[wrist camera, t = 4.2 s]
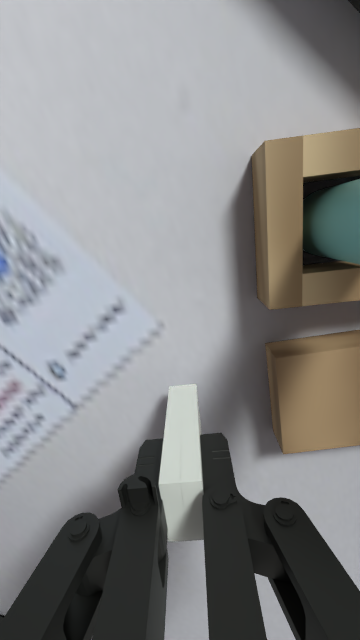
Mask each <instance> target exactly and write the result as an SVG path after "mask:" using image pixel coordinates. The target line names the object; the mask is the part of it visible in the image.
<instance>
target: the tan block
mask: <svg viewBox="0 0 360 640" xmlns="http://www.w3.org/2000/svg"><path fill="white" fill-rule="evenodd" d="M265 346H266V357H267V368H268V380H269V391H270V402H271V413H272V424H273V431H274V434H275V436H276V438H277V441H278V443H279V446H280V448H281V450H282V453H283V454H289V453H298V452H306V451H315V450H323V449H331V448H340V447H348V446H357V445H360V330H353V331H346V332H340V333H333V334H326V335H319V336H312V337H305V338H299V339H292V340H285V341H278V342H271V343H265Z"/></svg>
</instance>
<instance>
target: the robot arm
mask: <svg viewBox="0 0 360 640" xmlns="http://www.w3.org/2000/svg"><path fill="white" fill-rule="evenodd" d="M118 493H119V498H120V502H121V506H122V508H121V509H120V510H118V511H117V512H115V513H113V514H111V515H108V516H106V517H103V518H101V519H98V518H97V517H96V515H94V514H92V513H81V514H78V515H76V516H74V517H73V518H71V519H70V520H68V521H67V523H66V524H65V525H64V526H63V527H62V529H61V530H60V532H59V533H58V535H57V536H56V538H55V540H54V541H53V543H52V544H51V546H50V547H49V549H48V550H47V552H46V553H45V555H44V557H43V558H42V560H41V561H40V563H39V564H38V566H37V567H36V569H35V571H34V572H33V574H32V575H31V577H30V578H29V580H28V581H27V583H26V584H25V586H24V588H23V589H22V591H21V592H20V594H19V595H18V597H17V598H16V600H15V601H14V603H13V605H12V606H11V608H10V609H9V611H8V612H7V614H6V615H5V617H4V618H3V617H1V616H0V640H91V638H92V640H164V632H165V613H166V594H167V575H168V552H167V535H168V540H169V542H175V541H191V540H204V550H205V569H206V588H207V607H208V626H209V640H267V638H266V633H265V627H264V622H263V617H262V612H261V606H260V601H259V596H258V591H257V586H256V580H255V575H254V573H256V574H259V575H262V576H266V577H268V579H269V582H270V584H271V586H272V588H273V590H274V593H275V595H276V597H277V599H278V601H279V604H280V606H281V608H282V610H283V612H284V615H285V617H286V619H287V621H288V623H289V626H290V628H291V630H292V632H293V635H294V637H295V639H296V640H360V591H359V589H358V588H357V587H356V585H355V584H354V582H353V581H352V579H351V578H350V576H349V575H348V574H347V572H346V571H345V569H344V568H343V566H342V565H341V563H340V562H339V561H338V559H337V558H336V556H335V555H334V553H333V552H332V551H331V549H330V548H329V546H328V545H327V543H326V542H325V540H324V539H323V538H322V536H321V535H320V533H319V532H318V530H317V529H316V528H315V526H314V525H313V523H312V522H311V520H310V519H309V517H308V516H307V515H306V513H305V512H304V510H303V509H302V508H301V507H300V506H299V505H298V504H297V503H295V502H294V501H292V500H290V499H286V498H274V499H272V500H270V501H268V502H267V504H266V505H261V504H256V503H253V502H250V501H248V500H247V499H245V498H244V497H243V496H242V495H241V494H240V493H239V491H238V490H237V487H236V483H235V478H234V473H233V467H232V462H231V457H230V452H229V446H228V441H227V439H226V438H225V437H224V436H223V434H222V433H214V434H203V435H202V433H201V422H200V413H199V405H198V396H197V387H196V384H190V385H180V386H169V394H168V403H167V412H166V421H165V430H164V439H153V440H146V441H145V442H144V443H143V445H142V446H141V447H140V450H139V455H138V459H137V464H136V469H135V474H134V475H131V476H130V477H128V478H126V479H125V480H124V481H123V482H122V483H121V484H120V486H119V488H118ZM92 635H93V637H92Z"/></svg>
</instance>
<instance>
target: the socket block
mask: <svg viewBox="0 0 360 640" xmlns="http://www.w3.org/2000/svg"><path fill="white" fill-rule="evenodd" d="M354 176H360V128H356V129H349V130H341V131H334V132H327V133H319V134H312V135H305V136H297V137H290V138H282V139H275V140H268V141H264V142H263V144H262V145H261V146H260V147H259V148H258V149H257V150H256V151H255V152H254V153H253V155H252V177H253V202H254V226H255V251H256V276H257V298H258V299H259V300H260V301H261V302H262V303H263V304H264V305H265V306H266V307H267V308H268V309H269V310H272V309H282V308H291V307H301V306H310V305H320V304H329V303H339V302H348V301H358V300H360V264H355V263H351V262H346V261H335V262H326V263H317V264H308V265H303V183H307V182H314V181H322V180H330V179H338V178H346V177H354Z"/></svg>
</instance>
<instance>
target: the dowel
mask: <svg viewBox="0 0 360 640" xmlns="http://www.w3.org/2000/svg"><path fill="white" fill-rule="evenodd" d="M303 250H304V251H306V252H308V253H310V254H313V255H318V256H323V257H327V258H332V259H337V260H341V261H346V262H351V263H355V264H360V179H358V180H354V181H351V182H347V183H344V184H340V185H336V186H333V187H329V188H326V189H322V190H319V191H316V192H314V193H312V194H310V195H309V196H308V197H306V198H305V199H304V200H303Z"/></svg>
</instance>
